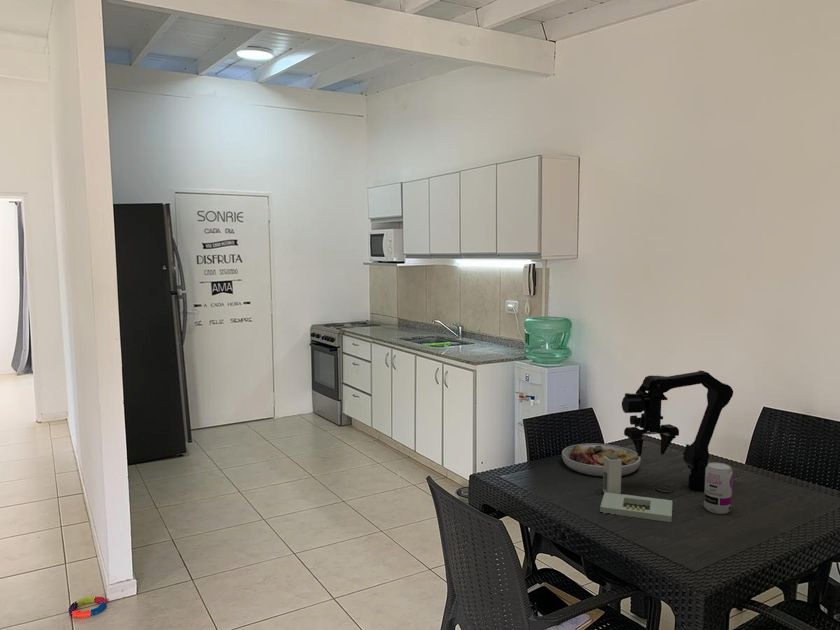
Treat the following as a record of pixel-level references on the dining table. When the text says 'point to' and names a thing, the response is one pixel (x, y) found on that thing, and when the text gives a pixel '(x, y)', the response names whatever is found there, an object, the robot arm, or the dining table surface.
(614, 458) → the grey tall block
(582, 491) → the dining table surface
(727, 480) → the supplement can
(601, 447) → the bowl
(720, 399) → the robot arm
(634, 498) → the board
